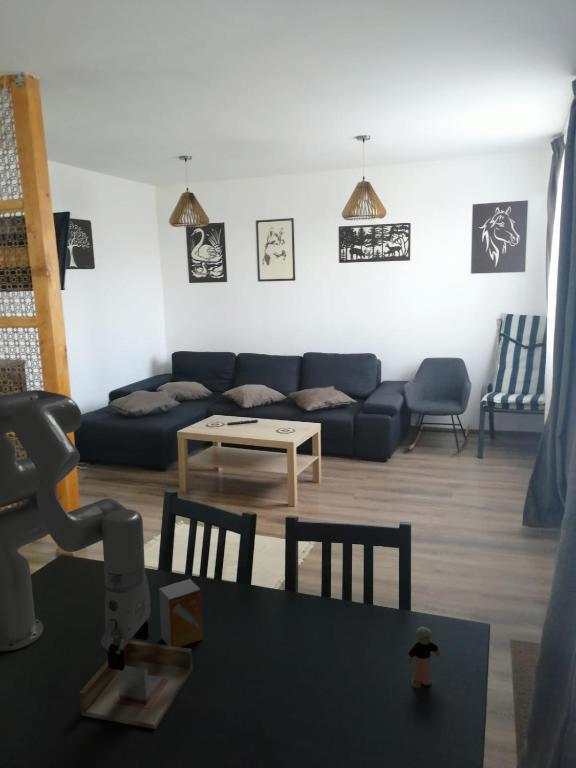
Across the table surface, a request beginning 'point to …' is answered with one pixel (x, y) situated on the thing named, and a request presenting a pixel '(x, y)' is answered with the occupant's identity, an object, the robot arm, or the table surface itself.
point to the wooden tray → (159, 662)
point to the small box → (180, 613)
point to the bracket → (137, 685)
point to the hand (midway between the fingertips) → (129, 653)
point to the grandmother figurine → (422, 657)
